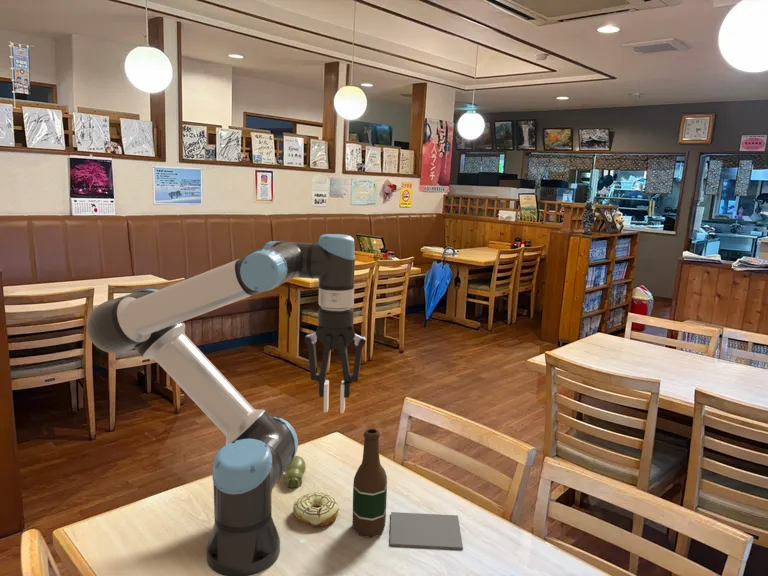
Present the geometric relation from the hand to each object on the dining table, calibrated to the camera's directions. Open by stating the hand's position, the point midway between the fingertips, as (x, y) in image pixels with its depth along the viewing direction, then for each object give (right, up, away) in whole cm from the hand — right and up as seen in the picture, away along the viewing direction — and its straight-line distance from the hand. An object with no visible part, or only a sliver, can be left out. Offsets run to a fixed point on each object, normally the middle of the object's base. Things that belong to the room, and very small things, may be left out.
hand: (334, 410), depth 124 cm
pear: (-13, -24, +25) cm, 37 cm away
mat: (+21, -29, +5) cm, 36 cm away
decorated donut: (-5, -28, +9) cm, 30 cm away
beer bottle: (+8, -29, +5) cm, 30 cm away
